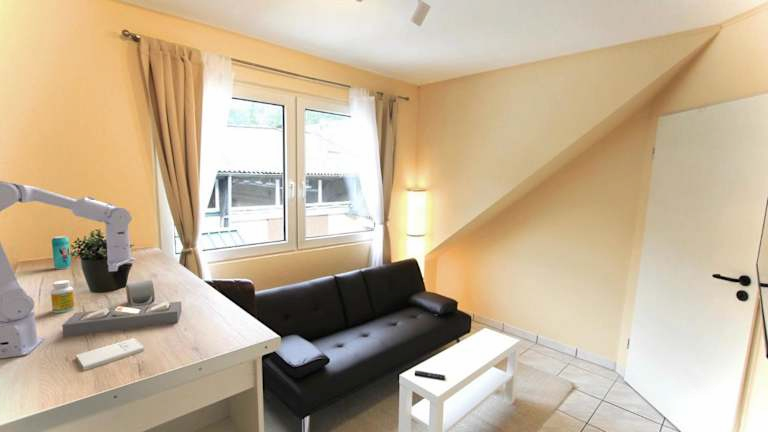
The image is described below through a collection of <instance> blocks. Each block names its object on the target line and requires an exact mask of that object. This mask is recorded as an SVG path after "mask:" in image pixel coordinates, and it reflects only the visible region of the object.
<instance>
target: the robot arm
mask: <svg viewBox="0 0 768 432" xmlns="http://www.w3.org/2000/svg"><path fill="white" fill-rule="evenodd" d="M17 202H19V203H22V204H23V203H24V204H25V203H29V202H38V203H43V204H46V205H49V206H50V205H51V206H55V207H59V208H63V209H68V210H71V212H72V213H73V216H75V217H79V218H83V219H86V220H87V219H88V220H91V221H95V222H99V223H105V237H106V250H107V251H106V254H107V260H106V263H107V266H108V267H107V268H106V270H107V272H108V273H109V274H110V277H112V280H113V282H114V284H115V287H116V289H126V285H128V279H129V275H130V274H129V273H130V271H131V268H132V267H133V262H135V261H136V260H137V259H136V257H132V254H131V240H130V229H129V227H130V226H129V224H130V223H131V221H132V218H133V216H132V215H131V213H130V212H129V211H128V209H126V208H124V207H120V206H116V205H114V204H115V203H114V204H113V203H111V202H108V203H107V202H106V203H105V202H102V201H99V200H96V198H95V197H93V196H88V197H86V196H81V197H79V198H76V199H75V198H71V197H69V196H66V195H63V194H59V193H56V192H53V191H49V190H46V189H42V188H39V187H35V186H32V185H28V184H27V185H26V184H21V183H16V182H8V181H4V180H0V213H1V212H2V211H4V210H6V209H7V208H9V207H11V206H13V205H15V204H16V203H17ZM34 307H35V301H34V299H33V297H31V296H30V295H28V294H27V292H26V291H25V290H24V289H23V287H22V286H21V283H20V282H19V280H18V277H17V275H16V274H15V271H14V269H13V267H12V265H11V263H10V260H9V258H8V255H7V254H6V251H5V249H4V247H3V244H2V242H1V241H0V359H7V358H14V357H20V356H21V357H22V356H27V355H29V354H30V353H31V352H32V351H33V350H35V348H36V347H38V345H40V344H41V343H42V342H43V341H44V340H45V339H46V337H45V336H41V337H38V331H37V324H36V322H37V321H36V313H35V309H34Z"/></svg>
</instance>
